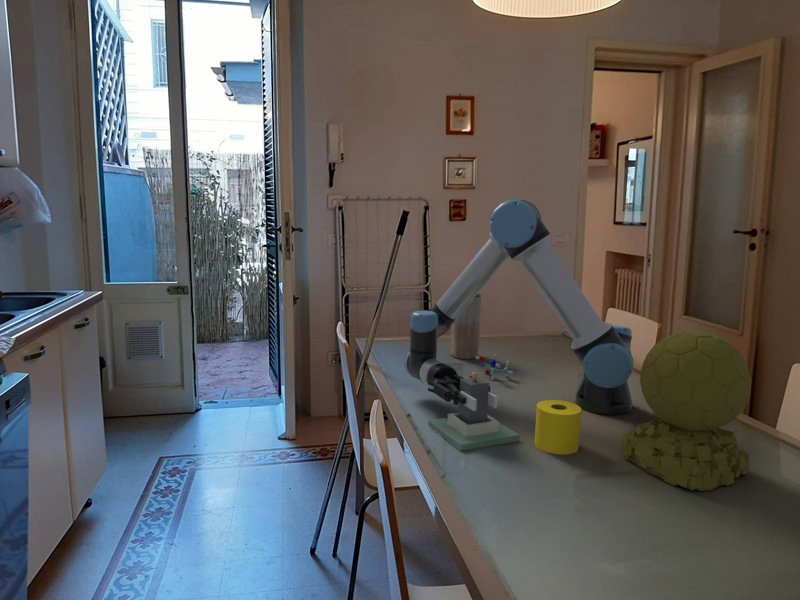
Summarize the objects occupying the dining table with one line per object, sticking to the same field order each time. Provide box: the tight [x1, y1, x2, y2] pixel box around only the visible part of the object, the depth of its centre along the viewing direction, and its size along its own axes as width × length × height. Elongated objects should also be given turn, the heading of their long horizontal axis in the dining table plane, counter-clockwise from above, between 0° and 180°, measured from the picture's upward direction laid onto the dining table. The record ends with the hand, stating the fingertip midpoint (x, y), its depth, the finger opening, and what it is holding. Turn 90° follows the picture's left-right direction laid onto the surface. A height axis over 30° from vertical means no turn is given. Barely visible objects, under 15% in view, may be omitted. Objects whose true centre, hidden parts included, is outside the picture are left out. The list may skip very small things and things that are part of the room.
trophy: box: [620, 330, 752, 492], centre depth 129 cm, size 22×22×30 cm
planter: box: [450, 293, 482, 360], centre depth 217 cm, size 10×10×23 cm
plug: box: [458, 371, 490, 425], centre depth 145 cm, size 5×5×12 cm
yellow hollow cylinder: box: [533, 399, 582, 455], centre depth 140 cm, size 10×10×9 cm
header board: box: [427, 411, 520, 452], centre depth 147 cm, size 16×16×4 cm
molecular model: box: [475, 353, 514, 381], centre depth 193 cm, size 12×10×10 cm
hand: (485, 403), depth 141 cm, fingers closed on plug, 5 cm apart
